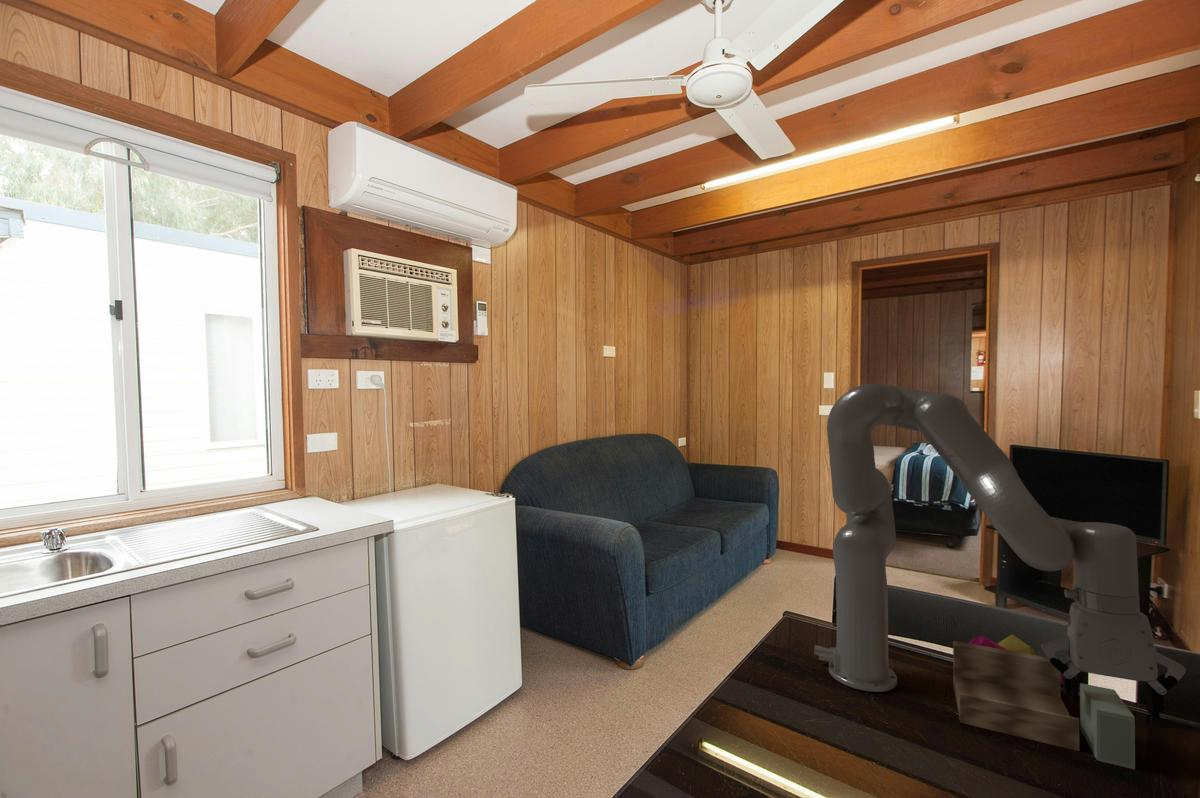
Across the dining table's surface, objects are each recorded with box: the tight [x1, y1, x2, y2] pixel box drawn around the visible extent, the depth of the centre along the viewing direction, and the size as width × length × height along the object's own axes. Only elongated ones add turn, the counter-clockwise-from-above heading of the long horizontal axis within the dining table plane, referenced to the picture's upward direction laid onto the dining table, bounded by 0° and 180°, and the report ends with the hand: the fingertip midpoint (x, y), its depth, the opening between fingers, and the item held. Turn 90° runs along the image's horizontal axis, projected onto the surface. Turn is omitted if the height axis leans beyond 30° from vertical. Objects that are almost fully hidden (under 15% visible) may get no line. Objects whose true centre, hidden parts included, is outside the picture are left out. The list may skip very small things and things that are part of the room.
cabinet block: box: [1079, 682, 1136, 770], centre depth 87 cm, size 4×9×8 cm, turn 151°
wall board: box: [952, 640, 1080, 752], centre depth 96 cm, size 16×14×9 cm
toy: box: [968, 634, 1063, 686], centre depth 107 cm, size 10×18×10 cm
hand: (1111, 707), depth 87 cm, fingers open, 9 cm apart
